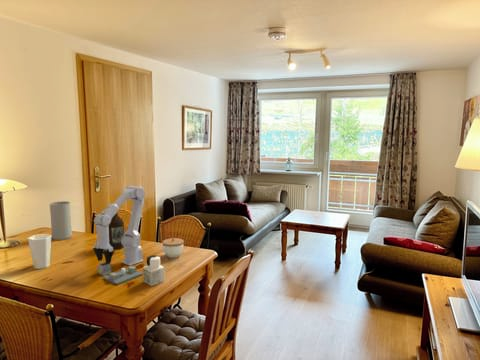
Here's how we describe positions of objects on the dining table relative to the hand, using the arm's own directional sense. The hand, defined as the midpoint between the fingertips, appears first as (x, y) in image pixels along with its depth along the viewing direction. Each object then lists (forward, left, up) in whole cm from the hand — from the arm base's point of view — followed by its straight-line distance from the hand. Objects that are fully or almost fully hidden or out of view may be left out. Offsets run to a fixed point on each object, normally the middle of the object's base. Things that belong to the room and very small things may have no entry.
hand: (104, 262), depth 180 cm
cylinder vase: (-17, -81, -6) cm, 83 cm away
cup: (+16, -36, -6) cm, 40 cm away
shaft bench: (-3, +12, -6) cm, 14 cm away
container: (-9, +29, -6) cm, 31 cm away
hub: (0, 0, -6) cm, 6 cm away
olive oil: (-28, -32, -6) cm, 43 cm away
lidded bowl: (-40, +9, -6) cm, 42 cm away
